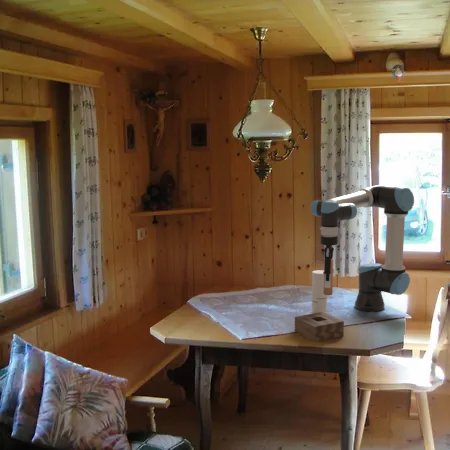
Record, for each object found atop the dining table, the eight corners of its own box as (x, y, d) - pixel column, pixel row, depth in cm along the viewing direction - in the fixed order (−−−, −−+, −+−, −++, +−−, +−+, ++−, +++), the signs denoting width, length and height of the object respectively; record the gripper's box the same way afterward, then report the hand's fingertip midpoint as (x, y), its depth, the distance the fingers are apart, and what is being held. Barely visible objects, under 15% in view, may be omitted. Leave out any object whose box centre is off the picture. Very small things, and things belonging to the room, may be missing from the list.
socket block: (322, 325, 304) (323, 311, 302) (343, 336, 289) (343, 321, 288) (294, 331, 296) (294, 316, 295) (314, 341, 282) (314, 326, 281)
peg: (328, 292, 291) (329, 258, 288) (334, 294, 288) (335, 259, 285) (321, 293, 289) (322, 259, 287) (327, 295, 286) (327, 260, 283)
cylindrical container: (326, 324, 306) (327, 274, 301) (311, 323, 307) (311, 273, 303) (326, 319, 312) (327, 270, 308) (312, 319, 314) (312, 269, 310)
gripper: (322, 231, 293) (321, 281, 297) (318, 238, 277) (317, 290, 281) (339, 232, 291) (337, 282, 295) (336, 239, 275) (334, 291, 279)
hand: (328, 286), depth 288 cm, fingers closed on peg, 4 cm apart
